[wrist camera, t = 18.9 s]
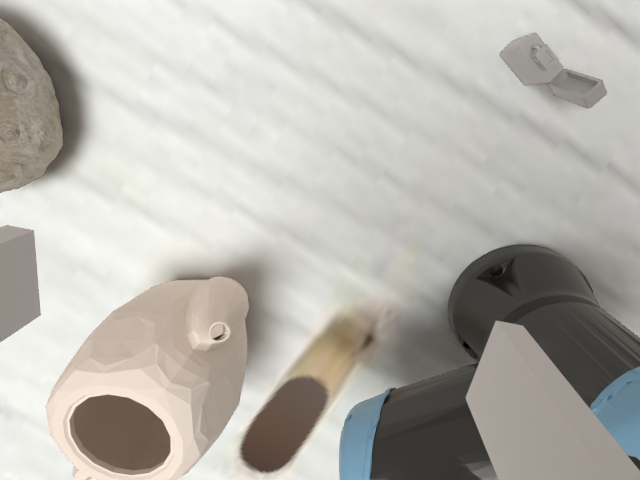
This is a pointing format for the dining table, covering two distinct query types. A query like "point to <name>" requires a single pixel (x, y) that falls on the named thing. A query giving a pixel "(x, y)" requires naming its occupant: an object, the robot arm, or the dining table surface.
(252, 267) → the dining table surface
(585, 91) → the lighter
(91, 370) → the cream ceramic pot
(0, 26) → the grey rounded rock
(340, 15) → the dining table surface
